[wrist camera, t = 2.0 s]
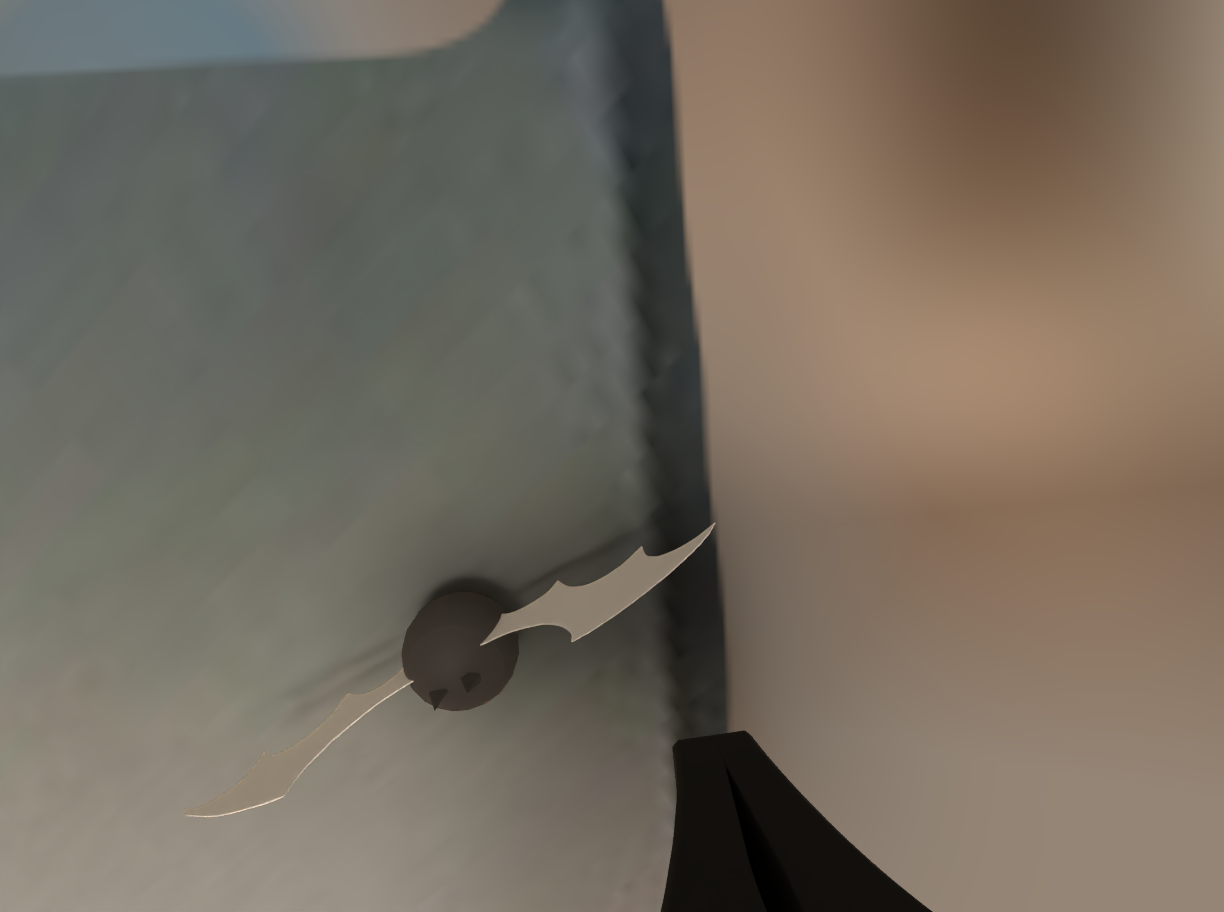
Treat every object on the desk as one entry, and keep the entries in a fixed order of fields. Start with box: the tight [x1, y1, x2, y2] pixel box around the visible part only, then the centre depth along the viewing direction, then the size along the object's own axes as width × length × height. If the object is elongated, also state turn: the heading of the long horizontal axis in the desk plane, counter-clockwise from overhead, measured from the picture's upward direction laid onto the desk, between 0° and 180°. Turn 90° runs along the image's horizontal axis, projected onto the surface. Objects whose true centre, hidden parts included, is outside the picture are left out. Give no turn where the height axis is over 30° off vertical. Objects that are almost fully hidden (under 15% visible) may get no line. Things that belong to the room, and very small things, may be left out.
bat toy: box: [184, 522, 715, 817], centre depth 16 cm, size 3×15×5 cm, turn 119°
